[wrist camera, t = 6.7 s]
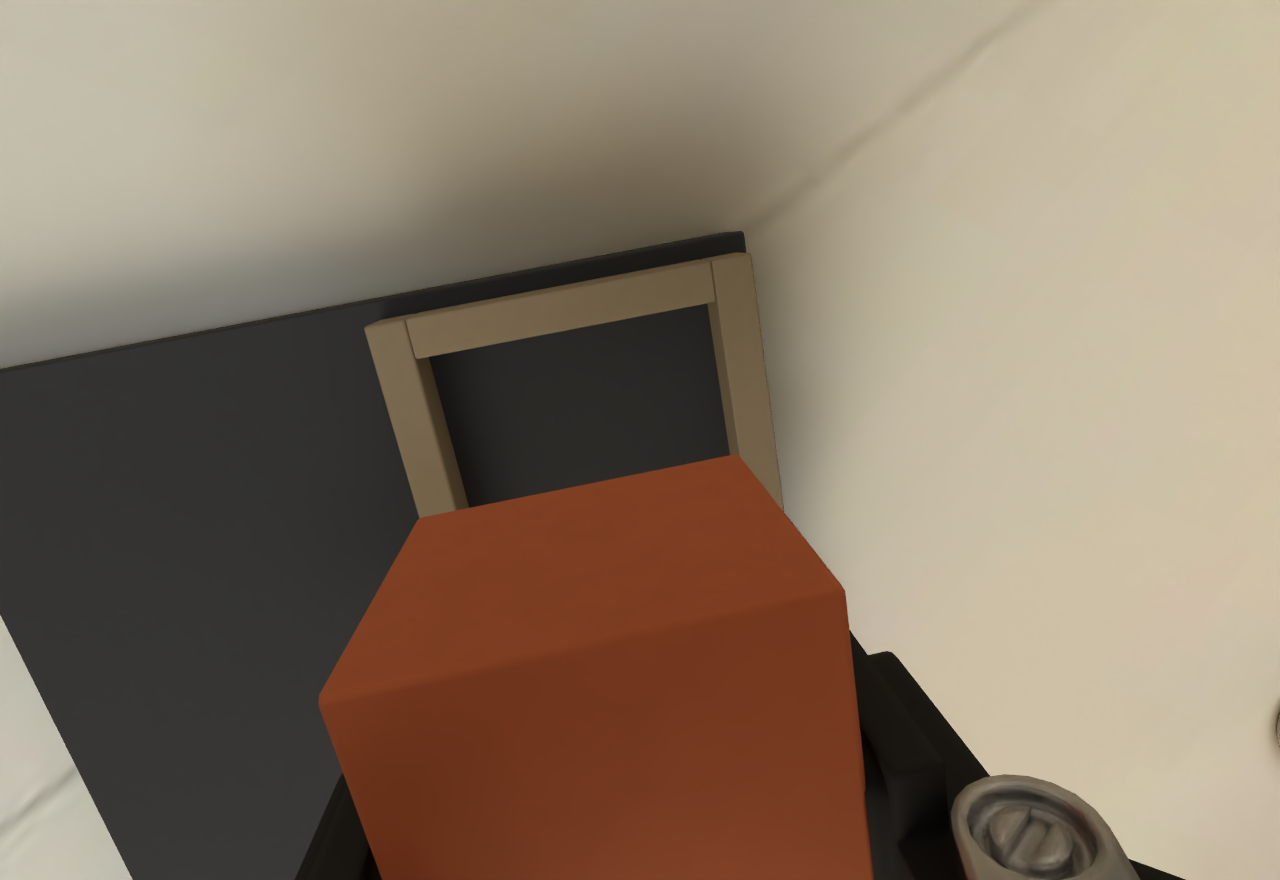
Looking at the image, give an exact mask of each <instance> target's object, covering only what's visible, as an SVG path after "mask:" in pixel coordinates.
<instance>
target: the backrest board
mask: <svg viewBox="0 0 1280 880" xmlns="http://www.w3.org/2000/svg"><path fill="white" fill-rule="evenodd" d="M729 455H739V456H740V457H741V458H742V460H743V461H744V462H745V463H746V465H747V466H748V467H749V468H750V470H751V471H752V472H753V474H754V475H755V476H756V477H757V479H758V480H759V481H760V482H761V484H762V485H763V486H764V487H765V489H766V490H767V491H768V493H769V494H770V495H771V496H772V498H773V499H774V500H775V501H776V503H777V504H778V505H779V507H780V508H781V509H782V510H783V512H784V506H783V499H782V491H781V483H780V476H779V468H778V460H777V452H776V445H775V437H774V429H773V422H772V414H771V406H770V398H769V391H768V383H767V375H766V368H765V360H764V352H763V344H762V337H761V329H760V321H759V314H758V306H757V298H756V290H755V283H754V275H753V267H752V260H751V254H750V253H746V247H745V239H744V233H743V232H741V231H737V232H724V233H718V234H713V235H708V236H702V237H697V238H692V239H687V240H681V241H676V242H671V243H665V244H660V245H655V246H649V247H644V248H639V249H634V250H628V251H623V252H618V253H612V254H607V255H602V256H596V257H591V258H586V259H581V260H575V261H570V262H565V263H559V264H554V265H549V266H543V267H538V268H533V269H528V270H522V271H517V272H512V273H506V274H501V275H496V276H490V277H485V278H480V279H475V280H469V281H464V282H459V283H453V284H448V285H443V286H437V287H432V288H427V289H422V290H416V291H411V292H406V293H400V294H395V295H390V296H384V297H379V298H374V299H369V300H363V301H358V302H353V303H347V304H342V305H337V306H331V307H326V308H321V309H316V310H310V311H305V312H300V313H294V314H289V315H284V316H278V317H273V318H268V319H263V320H257V321H252V322H247V323H241V324H236V325H231V326H225V327H220V328H215V329H210V330H204V331H199V332H194V333H188V334H183V335H178V336H172V337H167V338H162V339H157V340H151V341H146V342H141V343H135V344H130V345H125V346H119V347H114V348H109V349H104V350H98V351H93V352H88V353H82V354H77V355H72V356H66V357H61V358H56V359H51V360H45V361H40V362H35V363H29V364H24V365H19V366H13V367H8V368H3V369H0V615H1V617H2V619H3V621H4V623H5V625H6V627H7V629H8V631H9V633H10V635H11V637H12V639H13V641H14V643H15V645H16V647H17V649H18V651H19V653H20V655H21V657H22V659H23V661H24V663H25V665H26V667H27V669H28V671H29V673H30V675H31V677H32V679H33V681H34V683H35V685H36V687H37V689H38V691H39V693H40V695H41V697H42V699H43V701H44V703H45V705H46V707H47V709H48V711H49V713H50V715H51V717H52V719H53V721H54V723H55V725H56V727H57V729H58V731H59V733H60V735H61V737H62V739H63V741H64V743H65V745H66V747H67V749H68V751H69V753H70V755H71V757H72V759H73V761H74V763H75V765H76V767H77V769H78V771H79V773H80V775H81V777H82V779H83V781H84V783H85V785H86V787H87V789H88V791H89V793H90V795H91V797H92V799H93V801H94V803H95V805H96V807H97V809H98V811H99V813H100V815H101V817H102V819H103V821H104V823H105V825H106V827H107V829H108V831H109V833H110V835H111V837H112V839H113V841H114V843H115V845H116V847H117V849H118V851H119V853H120V855H121V857H122V859H123V861H124V863H125V865H126V867H127V869H128V871H129V873H130V875H131V877H132V879H133V880H295V878H296V875H297V873H298V871H299V869H300V866H301V864H302V862H303V859H304V857H305V855H306V853H307V850H308V848H309V846H310V843H311V841H312V839H313V837H314V834H315V832H316V830H317V827H318V825H319V823H320V820H321V818H322V816H323V814H324V811H325V809H326V807H327V804H328V802H329V800H330V798H331V795H332V793H333V791H334V788H335V786H336V784H337V782H338V779H339V778H340V776H341V774H342V773H343V771H342V769H341V766H340V763H339V760H338V758H337V755H336V752H335V749H334V747H333V744H332V741H331V738H330V736H329V733H328V730H327V727H326V725H325V722H324V719H323V717H322V714H321V711H320V708H319V703H318V702H319V694H320V693H321V691H322V689H323V687H324V686H325V684H326V682H327V680H328V678H329V677H330V675H331V673H332V671H333V670H334V668H335V666H336V664H337V662H338V661H339V659H340V657H341V655H342V654H343V652H344V650H345V648H346V646H347V645H348V643H349V641H350V639H351V637H352V636H353V634H354V632H355V630H356V629H357V627H358V625H359V623H360V621H361V620H362V618H363V616H364V614H365V613H366V611H367V609H368V607H369V605H370V604H371V602H372V600H373V598H374V597H375V595H376V593H377V591H378V589H379V588H380V586H381V584H382V582H383V581H384V579H385V577H386V575H387V573H388V572H389V570H390V568H391V566H392V564H393V563H394V561H395V559H396V557H397V556H398V554H399V552H400V550H401V548H402V547H403V545H404V543H405V541H406V540H407V538H408V536H409V534H410V532H411V531H412V529H413V527H414V525H415V524H416V522H417V520H419V519H420V518H422V517H427V516H432V515H437V514H442V513H447V512H452V511H457V510H462V509H467V508H472V507H477V506H481V505H486V504H491V503H496V502H501V501H506V500H511V499H516V498H521V497H526V496H531V495H536V494H541V493H546V492H551V491H556V490H561V489H566V488H571V487H576V486H580V485H585V484H590V483H595V482H600V481H605V480H610V479H615V478H620V477H625V476H630V475H635V474H640V473H645V472H650V471H655V470H660V469H665V468H670V467H675V466H679V465H684V464H689V463H694V462H699V461H704V460H709V459H714V458H719V457H724V456H729Z"/></svg>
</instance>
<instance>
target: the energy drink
mask: <svg viewBox="0 0 1280 880" xmlns="http://www.w3.org/2000/svg"><path fill="white" fill-rule="evenodd" d="M1277 738H1278V742H1279V746H1280V715H1279V719H1278V723H1277Z"/></svg>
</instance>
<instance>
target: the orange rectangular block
mask: <svg viewBox="0 0 1280 880" xmlns="http://www.w3.org/2000/svg"><path fill="white" fill-rule="evenodd" d="M318 703H319V708H320V711H321V714H322V717H323V719H324V722H325V725H326V727H327V730H328V733H329V736H330V738H331V741H332V744H333V747H334V749H335V752H336V755H337V758H338V760H339V763H340V766H341V769H342V771H343V774H344V777H345V780H346V782H347V785H348V788H349V790H350V793H351V796H352V799H353V801H354V804H355V807H356V810H357V812H358V815H359V818H360V821H361V823H362V826H363V829H364V832H365V834H366V837H367V840H368V842H369V845H370V848H371V851H372V853H373V856H374V859H375V862H376V864H377V867H378V870H379V873H380V875H381V878H382V880H874V873H873V864H872V855H871V846H870V837H869V828H868V819H867V810H866V800H865V791H866V782H865V770H864V761H863V752H862V743H861V733H860V724H859V715H858V706H857V696H856V687H855V678H854V669H853V660H852V650H851V641H850V632H849V623H848V614H847V604H846V595H845V590H844V589H843V587H842V585H841V584H840V583H839V582H838V580H837V579H836V578H835V576H834V575H833V574H832V573H831V571H830V570H829V569H828V568H827V566H826V565H825V564H824V562H823V561H822V560H821V559H820V557H819V556H818V555H817V554H816V552H815V551H814V550H813V548H812V547H811V546H810V545H809V543H808V542H807V541H806V540H805V538H804V537H803V536H802V535H801V533H800V532H799V531H798V529H797V528H796V527H795V526H794V524H793V523H792V522H791V521H790V519H789V518H788V517H787V515H786V514H785V513H784V512H783V510H782V509H781V508H780V507H779V505H778V504H777V503H776V501H775V500H774V499H773V498H772V496H771V495H770V494H769V493H768V491H767V490H766V489H765V487H764V486H763V485H762V484H761V482H760V481H759V480H758V479H757V477H756V476H755V475H754V474H753V472H752V471H751V470H750V468H749V467H748V466H747V465H746V463H745V462H744V461H743V460H742V458H741V457H740V456H739V455H729V456H724V457H719V458H714V459H709V460H704V461H699V462H694V463H689V464H684V465H679V466H675V467H670V468H665V469H660V470H655V471H650V472H645V473H640V474H635V475H630V476H625V477H620V478H615V479H610V480H605V481H600V482H595V483H590V484H585V485H580V486H576V487H571V488H566V489H561V490H556V491H551V492H546V493H541V494H536V495H531V496H526V497H521V498H516V499H511V500H506V501H501V502H496V503H491V504H486V505H481V506H477V507H472V508H467V509H462V510H457V511H452V512H447V513H442V514H437V515H432V516H427V517H422V518H420V519H419V520H417V522H416V524H415V525H414V527H413V529H412V531H411V532H410V534H409V536H408V538H407V540H406V541H405V543H404V545H403V547H402V548H401V550H400V552H399V554H398V556H397V557H396V559H395V561H394V563H393V564H392V566H391V568H390V570H389V572H388V573H387V575H386V577H385V579H384V581H383V582H382V584H381V586H380V588H379V589H378V591H377V593H376V595H375V597H374V598H373V600H372V602H371V604H370V605H369V607H368V609H367V611H366V613H365V614H364V616H363V618H362V620H361V621H360V623H359V625H358V627H357V629H356V630H355V632H354V634H353V636H352V637H351V639H350V641H349V643H348V645H347V646H346V648H345V650H344V652H343V654H342V655H341V657H340V659H339V661H338V662H337V664H336V666H335V668H334V670H333V671H332V673H331V675H330V677H329V678H328V680H327V682H326V684H325V686H324V687H323V689H322V691H321V693H320V694H319V702H318Z"/></svg>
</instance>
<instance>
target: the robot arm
mask: <svg viewBox="0 0 1280 880" xmlns="http://www.w3.org/2000/svg"><path fill="white" fill-rule="evenodd" d="M849 632H850V641H851V650H852V660H853V669H854V678H855V687H856V696H857V706H858V715H859V724H860V733H861V743H862V752H863V761H864V770H865V782H866V791H865V800H866V810H867V819H868V828H869V837H870V846H871V855H872V864H873V873H874V880H1185V879H1182V878H1180V877H1177V876H1174V875H1171V874H1169V873H1166V872H1163V871H1160V870H1158V869H1155V868H1152V867H1149V866H1147V865H1144V864H1141V863H1138V862H1136V861H1133V860H1130V859H1128V858H1127V856H1126V854H1125V853H1124V851H1123V849H1122V847H1121V846H1120V844H1119V842H1118V841H1117V839H1116V837H1115V836H1114V834H1113V832H1112V830H1111V829H1110V827H1109V826H1108V825H1107V824H1106V822H1105V821H1104V820H1103V819H1102V817H1101V816H1100V815H1099V814H1098V812H1097V811H1096V810H1095V809H1094V808H1093V807H1091V806H1090V805H1089V804H1087V803H1086V802H1085V801H1084V800H1082V799H1081V798H1080V797H1078V796H1077V795H1076V794H1074V793H1072V792H1070V791H1068V790H1066V789H1064V788H1062V787H1060V786H1058V785H1056V784H1054V783H1051V782H1048V781H1044V780H1040V779H1037V778H1033V777H1029V776H1020V775H1006V774H1004V775H997V776H991V777H990V775H989V774H988V773H987V772H986V770H985V769H984V768H983V766H982V765H981V764H980V763H979V761H978V760H977V759H976V758H975V756H974V755H973V754H972V752H971V751H970V750H969V749H968V747H967V746H966V745H965V743H964V742H963V741H962V740H961V738H960V737H959V736H958V734H957V733H956V732H955V731H954V729H953V728H952V727H951V726H950V724H949V723H948V722H947V720H946V719H945V718H944V717H943V715H942V714H941V713H940V711H939V710H938V709H937V708H936V706H935V705H934V704H933V703H932V701H931V700H930V699H929V697H928V696H927V695H926V694H925V692H924V691H923V690H922V688H921V687H920V686H919V685H918V683H917V682H916V681H915V680H914V678H913V677H912V676H911V674H910V673H909V672H908V671H907V669H906V668H905V667H904V665H903V664H902V663H901V662H900V660H899V659H898V658H897V657H896V656H895V655H894V654H893V653H892V652H888V651H886V652H881V653H876V654H872V655H867V654H866V652H865V651H864V649H863V648H862V647H861V645H860V644H859V642H858V641H857V640H856V638H855V637H854V635H853V634H852V633H851V631H850V630H849ZM295 880H382V878H381V875H380V873H379V870H378V867H377V864H376V862H375V859H374V856H373V853H372V851H371V848H370V845H369V842H368V840H367V837H366V834H365V832H364V829H363V826H362V823H361V821H360V818H359V815H358V812H357V810H356V807H355V804H354V801H353V799H352V796H351V793H350V790H349V788H348V785H347V782H346V780H345V777H344V774H343V773H342V774H341V776H340V778H339V779H338V782H337V784H336V786H335V788H334V791H333V793H332V795H331V798H330V800H329V802H328V804H327V807H326V809H325V811H324V814H323V816H322V818H321V820H320V823H319V825H318V827H317V830H316V832H315V834H314V837H313V839H312V841H311V843H310V846H309V848H308V850H307V853H306V855H305V857H304V859H303V862H302V864H301V866H300V869H299V871H298V873H297V875H296V878H295Z"/></svg>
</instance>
